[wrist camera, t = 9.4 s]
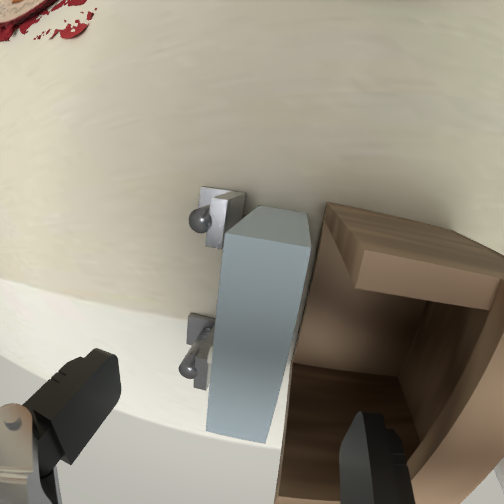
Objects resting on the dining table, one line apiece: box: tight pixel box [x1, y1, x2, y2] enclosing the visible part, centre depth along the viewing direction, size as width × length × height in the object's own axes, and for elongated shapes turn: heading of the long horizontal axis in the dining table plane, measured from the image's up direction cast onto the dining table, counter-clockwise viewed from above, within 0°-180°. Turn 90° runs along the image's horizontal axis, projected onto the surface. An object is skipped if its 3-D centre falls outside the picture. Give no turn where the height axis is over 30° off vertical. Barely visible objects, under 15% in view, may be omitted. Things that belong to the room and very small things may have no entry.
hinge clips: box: [179, 187, 246, 390], centre depth 19 cm, size 11×3×5 cm, turn 172°
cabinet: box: [274, 202, 504, 504], centre depth 14 cm, size 12×9×13 cm
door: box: [206, 205, 311, 444], centre depth 16 cm, size 10×4×9 cm, turn 172°
